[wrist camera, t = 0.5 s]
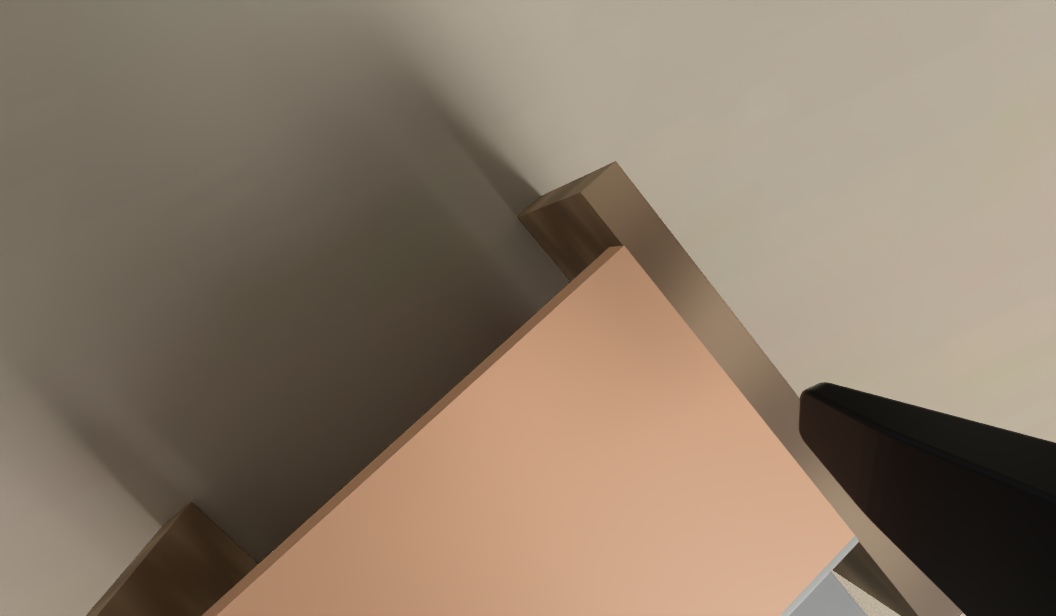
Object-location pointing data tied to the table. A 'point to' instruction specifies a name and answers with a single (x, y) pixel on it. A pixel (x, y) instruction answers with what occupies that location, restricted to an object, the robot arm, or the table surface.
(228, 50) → the table surface
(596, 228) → the trapdoor frame
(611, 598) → the trapdoor
